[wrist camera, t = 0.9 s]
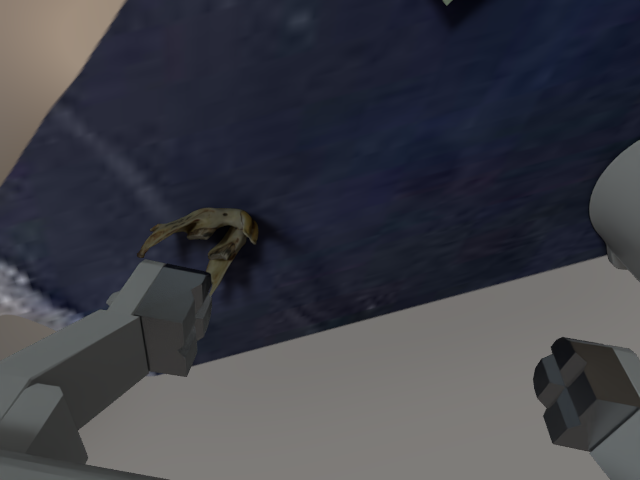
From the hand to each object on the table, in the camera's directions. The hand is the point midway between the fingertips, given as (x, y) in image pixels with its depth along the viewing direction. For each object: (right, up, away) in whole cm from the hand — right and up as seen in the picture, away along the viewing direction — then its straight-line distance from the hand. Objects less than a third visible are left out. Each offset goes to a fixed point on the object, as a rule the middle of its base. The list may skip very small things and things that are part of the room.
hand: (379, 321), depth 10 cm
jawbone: (-13, +4, +39) cm, 42 cm away
